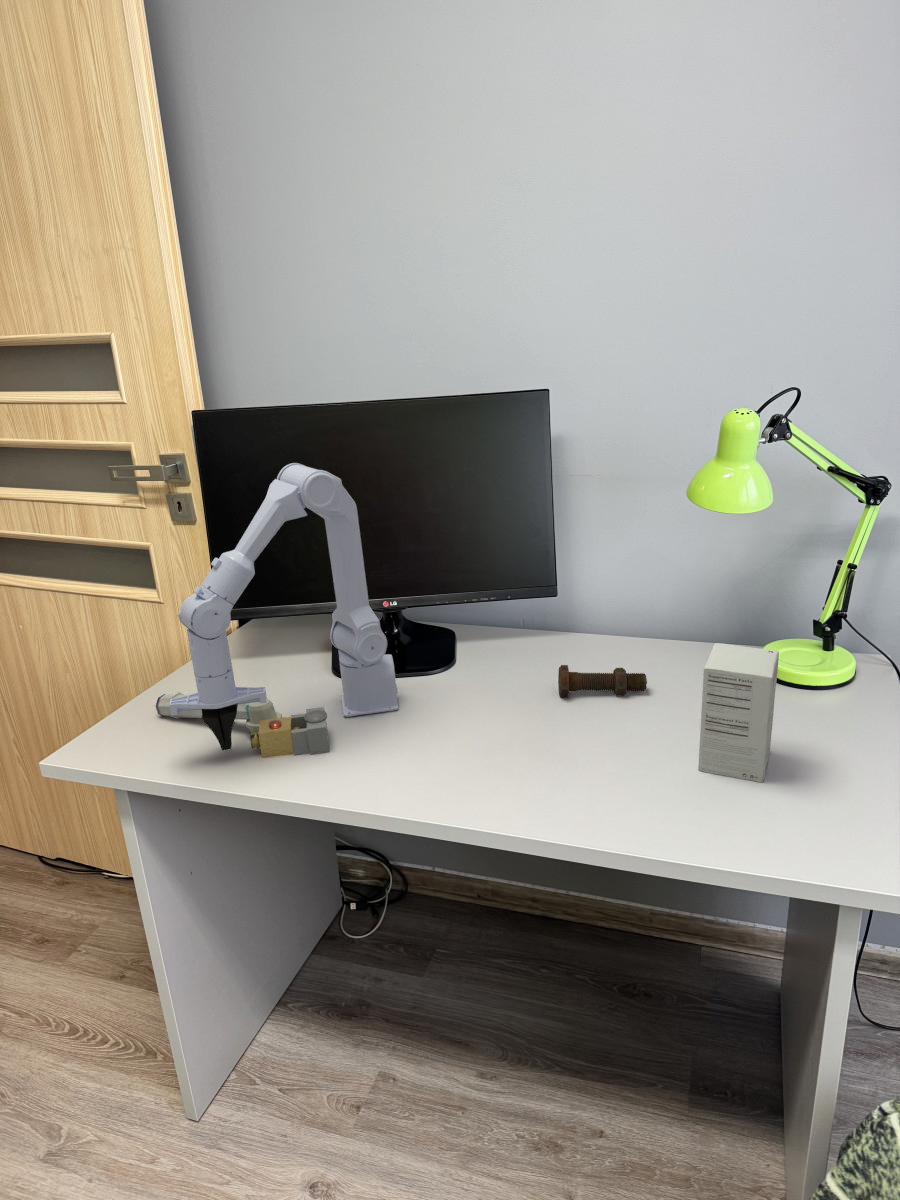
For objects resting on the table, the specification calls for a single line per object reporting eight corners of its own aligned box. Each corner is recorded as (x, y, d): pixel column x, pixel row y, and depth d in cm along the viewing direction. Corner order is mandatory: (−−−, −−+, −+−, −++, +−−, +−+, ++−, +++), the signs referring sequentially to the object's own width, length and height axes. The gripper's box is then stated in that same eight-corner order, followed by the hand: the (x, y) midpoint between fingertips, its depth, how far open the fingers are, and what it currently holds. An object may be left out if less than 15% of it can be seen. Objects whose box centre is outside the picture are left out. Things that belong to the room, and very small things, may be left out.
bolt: (645, 703, 145) (558, 702, 146) (642, 679, 149) (557, 678, 150) (649, 685, 141) (560, 684, 142) (646, 660, 144) (559, 660, 145)
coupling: (329, 730, 139) (325, 704, 137) (331, 751, 132) (327, 724, 131) (294, 735, 138) (290, 709, 136) (294, 756, 132) (290, 729, 130)
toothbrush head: (170, 687, 149) (282, 690, 138) (181, 721, 151) (291, 726, 140) (149, 700, 145) (263, 704, 134) (160, 734, 147) (273, 741, 136)
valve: (303, 739, 137) (300, 713, 135) (303, 753, 133) (299, 726, 131) (254, 745, 136) (250, 719, 134) (252, 759, 132) (248, 733, 130)
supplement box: (707, 740, 129) (713, 640, 123) (771, 750, 125) (780, 648, 119) (696, 771, 121) (702, 667, 115) (763, 784, 117) (773, 676, 111)
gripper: (261, 653, 133) (273, 728, 137) (168, 665, 130) (182, 740, 135) (260, 672, 126) (272, 749, 131) (161, 684, 124) (177, 763, 129)
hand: (226, 746), depth 133 cm, fingers closed
